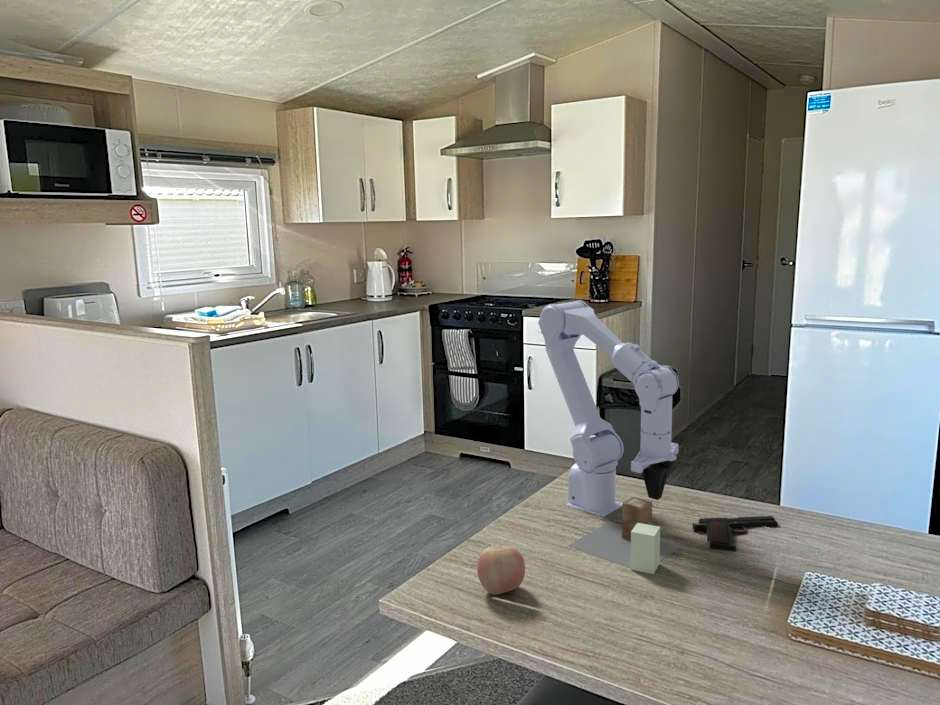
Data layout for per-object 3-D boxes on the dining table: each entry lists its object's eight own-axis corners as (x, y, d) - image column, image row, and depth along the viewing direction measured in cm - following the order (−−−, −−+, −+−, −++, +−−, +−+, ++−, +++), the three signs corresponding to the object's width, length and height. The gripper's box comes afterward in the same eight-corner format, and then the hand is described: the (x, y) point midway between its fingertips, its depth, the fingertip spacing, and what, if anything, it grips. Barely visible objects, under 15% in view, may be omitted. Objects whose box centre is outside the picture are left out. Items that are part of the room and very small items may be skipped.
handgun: (804, 542, 131) (770, 513, 143) (714, 545, 129) (687, 515, 141) (803, 553, 132) (769, 523, 143) (713, 557, 130) (686, 526, 141)
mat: (567, 547, 134) (567, 545, 134) (609, 523, 144) (609, 521, 144) (644, 575, 123) (644, 572, 123) (683, 546, 133) (683, 544, 133)
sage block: (630, 569, 125) (630, 531, 123) (636, 559, 128) (637, 522, 127) (653, 574, 123) (654, 536, 121) (659, 564, 126) (660, 526, 125)
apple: (530, 584, 122) (529, 540, 120) (517, 607, 115) (516, 561, 113) (485, 577, 124) (484, 534, 123) (470, 600, 117) (469, 554, 116)
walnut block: (621, 538, 136) (622, 503, 135) (633, 531, 139) (633, 496, 138) (640, 544, 134) (641, 508, 132) (651, 537, 137) (652, 502, 135)
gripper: (655, 444, 129) (654, 515, 132) (693, 425, 140) (691, 491, 142) (621, 436, 134) (620, 505, 137) (660, 419, 145) (659, 483, 147)
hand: (654, 497), depth 140 cm, fingers closed
